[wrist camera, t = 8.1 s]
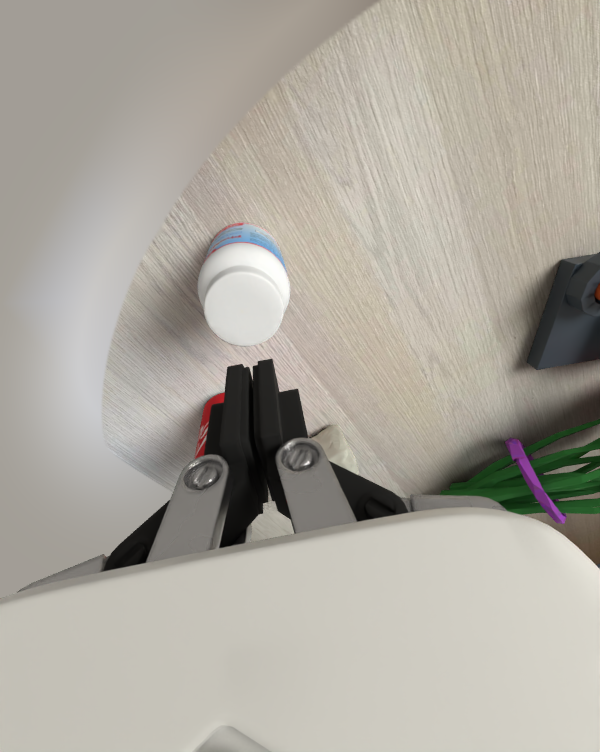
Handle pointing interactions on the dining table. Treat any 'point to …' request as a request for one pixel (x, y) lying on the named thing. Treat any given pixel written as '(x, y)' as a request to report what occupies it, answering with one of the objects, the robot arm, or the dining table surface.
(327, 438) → the decorative stone
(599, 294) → the button
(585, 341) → the scale
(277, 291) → the pill bottle
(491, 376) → the dining table surface
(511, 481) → the bouquet
